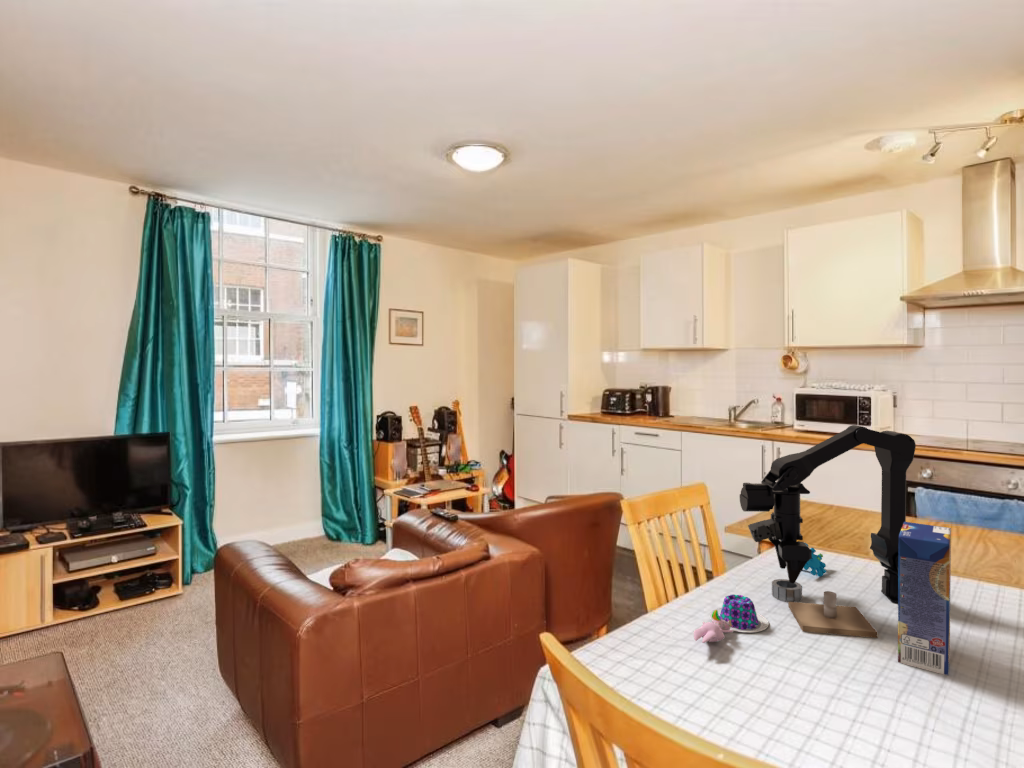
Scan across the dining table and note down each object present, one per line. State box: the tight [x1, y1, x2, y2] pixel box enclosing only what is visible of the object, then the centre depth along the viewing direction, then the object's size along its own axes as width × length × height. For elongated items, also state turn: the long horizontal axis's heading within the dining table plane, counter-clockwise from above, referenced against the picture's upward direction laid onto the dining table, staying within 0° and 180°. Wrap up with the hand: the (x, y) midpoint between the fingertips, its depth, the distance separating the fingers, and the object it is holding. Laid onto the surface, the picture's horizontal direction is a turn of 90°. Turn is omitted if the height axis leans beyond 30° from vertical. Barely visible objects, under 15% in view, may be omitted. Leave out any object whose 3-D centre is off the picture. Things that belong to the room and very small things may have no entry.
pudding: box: [709, 594, 770, 633], centre depth 122 cm, size 12×12×5 cm
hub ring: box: [771, 578, 803, 603], centre depth 134 cm, size 6×6×3 cm
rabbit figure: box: [693, 609, 734, 644], centre depth 114 cm, size 6×6×15 cm
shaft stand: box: [787, 590, 878, 639], centre depth 121 cm, size 14×12×6 cm
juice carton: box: [897, 521, 952, 676], centre depth 106 cm, size 12×8×24 cm, turn 141°
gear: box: [797, 540, 827, 578], centre depth 150 cm, size 11×6×10 cm
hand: (787, 575), depth 134 cm, fingers open, 9 cm apart
